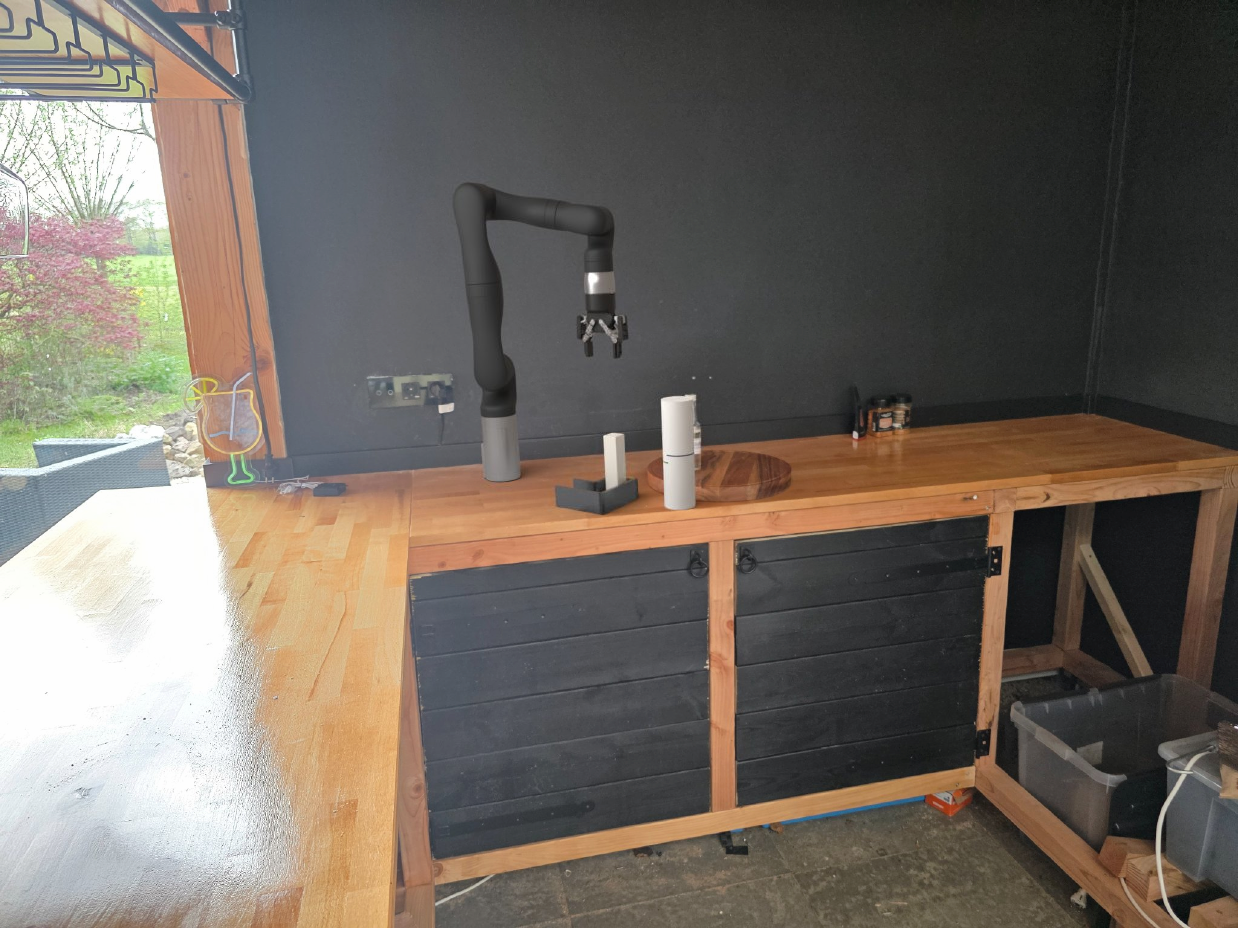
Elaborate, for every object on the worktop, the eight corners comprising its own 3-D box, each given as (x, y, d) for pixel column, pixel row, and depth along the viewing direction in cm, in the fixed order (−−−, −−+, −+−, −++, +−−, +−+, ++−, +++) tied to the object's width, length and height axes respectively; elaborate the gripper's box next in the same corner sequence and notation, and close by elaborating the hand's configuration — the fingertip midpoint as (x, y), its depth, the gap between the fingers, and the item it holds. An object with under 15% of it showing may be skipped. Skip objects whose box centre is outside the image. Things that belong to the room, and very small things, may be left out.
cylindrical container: (684, 511, 190) (681, 402, 184) (658, 507, 194) (654, 400, 188) (701, 503, 196) (698, 397, 189) (675, 499, 200) (672, 395, 194)
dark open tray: (556, 506, 199) (554, 486, 197) (593, 490, 210) (591, 471, 208) (602, 514, 191) (601, 493, 189) (638, 498, 202) (637, 478, 201)
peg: (606, 501, 201) (603, 435, 197) (615, 497, 204) (612, 432, 200) (618, 503, 199) (615, 437, 195) (627, 499, 202) (624, 434, 198)
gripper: (567, 292, 207) (571, 358, 211) (614, 292, 198) (617, 360, 202) (586, 290, 212) (589, 354, 217) (632, 290, 204) (635, 356, 208)
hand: (603, 357), depth 210 cm, fingers open, 8 cm apart
